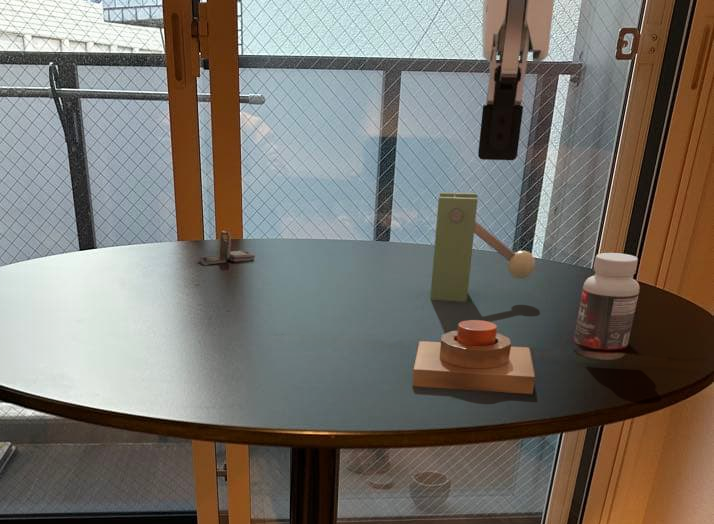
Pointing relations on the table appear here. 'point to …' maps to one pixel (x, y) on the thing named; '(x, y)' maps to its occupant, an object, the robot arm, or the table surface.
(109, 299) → the table surface
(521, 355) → the button block
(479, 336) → the button
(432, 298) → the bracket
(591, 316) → the pill bottle
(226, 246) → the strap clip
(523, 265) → the lever
